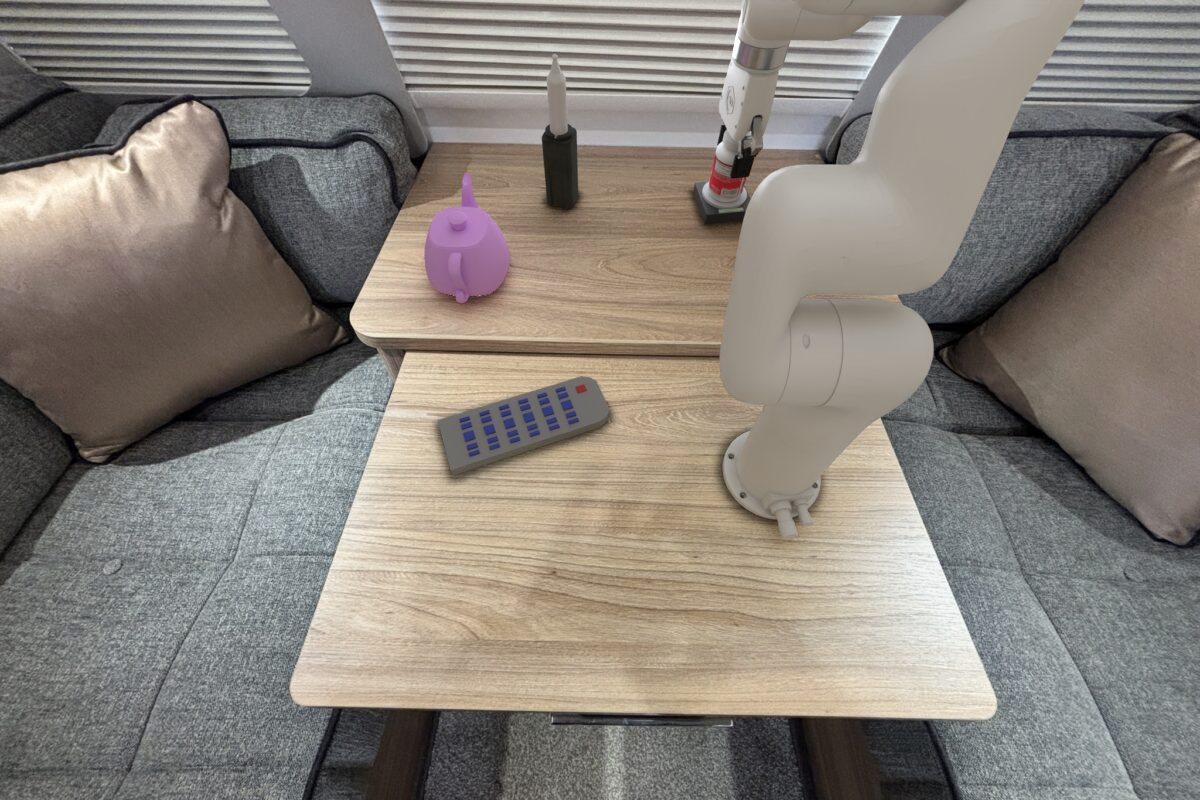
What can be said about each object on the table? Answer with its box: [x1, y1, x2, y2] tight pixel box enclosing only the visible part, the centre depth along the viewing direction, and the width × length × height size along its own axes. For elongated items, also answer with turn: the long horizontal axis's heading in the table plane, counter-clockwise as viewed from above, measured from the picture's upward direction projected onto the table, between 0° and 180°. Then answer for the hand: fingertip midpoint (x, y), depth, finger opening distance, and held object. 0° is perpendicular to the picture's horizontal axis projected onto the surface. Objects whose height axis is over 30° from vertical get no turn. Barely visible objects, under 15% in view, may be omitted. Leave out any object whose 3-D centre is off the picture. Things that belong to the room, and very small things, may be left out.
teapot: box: [423, 172, 511, 304], centre depth 84 cm, size 20×13×12 cm, turn 1°
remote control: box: [437, 375, 611, 476], centre depth 73 cm, size 8×23×2 cm, turn 111°
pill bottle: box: [708, 130, 752, 202], centre depth 91 cm, size 6×6×11 cm
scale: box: [692, 181, 751, 226], centre depth 97 cm, size 9×9×3 cm
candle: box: [541, 53, 579, 210], centre depth 88 cm, size 5×5×25 cm
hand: (732, 161), depth 91 cm, fingers open, 7 cm apart
